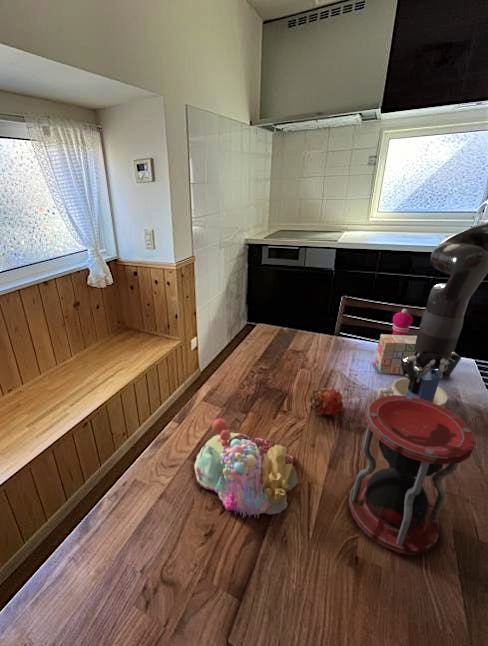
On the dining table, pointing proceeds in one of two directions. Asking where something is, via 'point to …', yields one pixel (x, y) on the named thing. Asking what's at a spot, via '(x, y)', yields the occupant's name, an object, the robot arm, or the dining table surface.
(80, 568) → the dining table surface
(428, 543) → the hourglass
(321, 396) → the dragon fruit
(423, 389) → the block
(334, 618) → the dining table surface
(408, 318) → the pepper mill
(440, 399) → the mug
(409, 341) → the stack of blocks
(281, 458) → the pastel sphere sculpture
